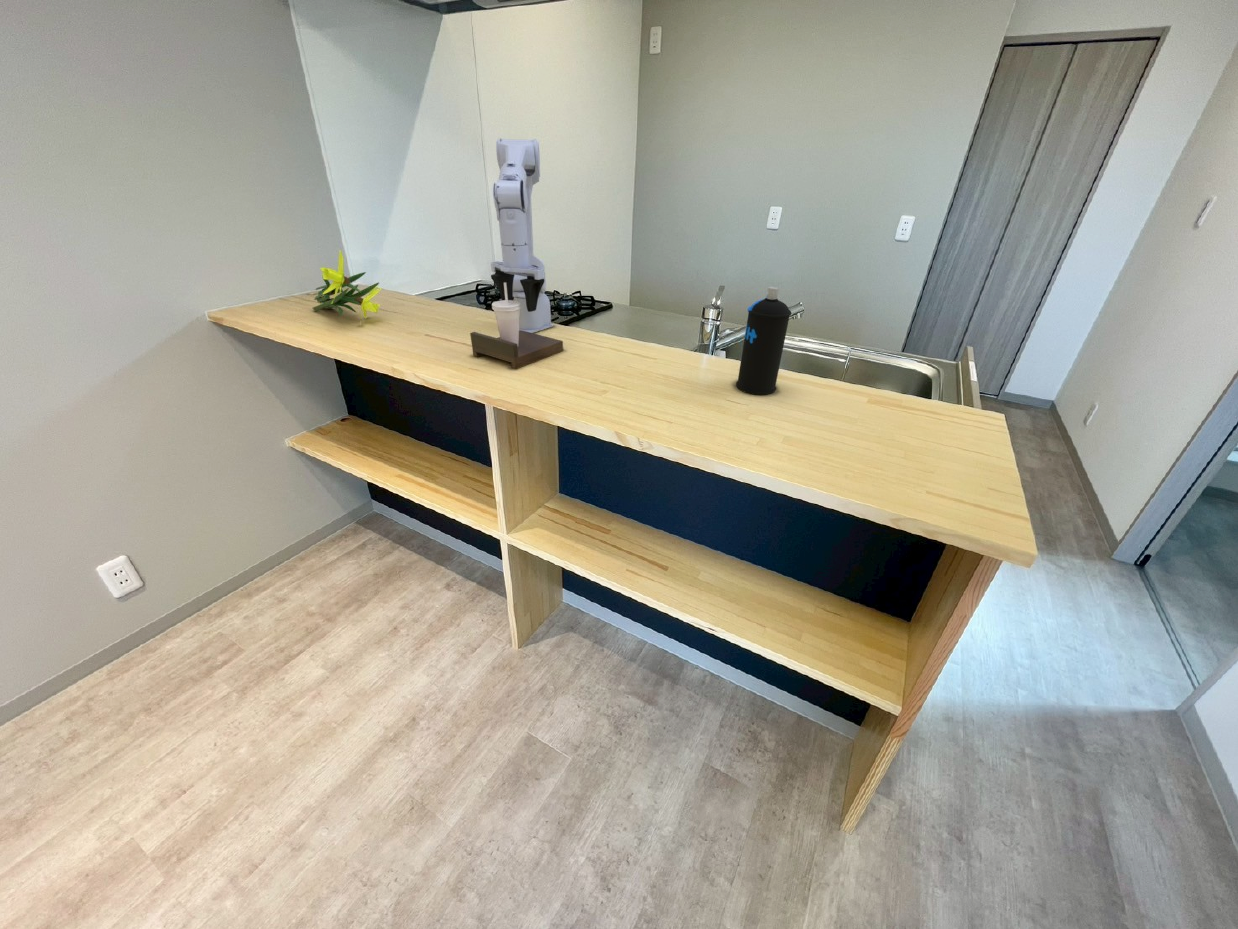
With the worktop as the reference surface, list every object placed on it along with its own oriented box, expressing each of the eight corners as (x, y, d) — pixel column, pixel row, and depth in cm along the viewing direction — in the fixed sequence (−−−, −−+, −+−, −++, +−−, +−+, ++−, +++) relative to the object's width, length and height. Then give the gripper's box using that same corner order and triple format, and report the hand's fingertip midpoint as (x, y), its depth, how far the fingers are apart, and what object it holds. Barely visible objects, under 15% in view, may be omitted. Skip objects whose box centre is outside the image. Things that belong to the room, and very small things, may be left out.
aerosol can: (777, 383, 105) (797, 285, 94) (774, 397, 98) (795, 294, 87) (738, 377, 107) (753, 281, 96) (733, 391, 100) (748, 290, 90)
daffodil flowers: (362, 305, 156) (407, 292, 132) (330, 338, 151) (372, 331, 127) (314, 260, 146) (354, 237, 121) (278, 294, 141) (313, 277, 116)
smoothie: (527, 342, 117) (522, 280, 110) (520, 350, 111) (514, 286, 104) (501, 340, 117) (494, 279, 110) (492, 349, 112) (485, 285, 105)
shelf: (522, 339, 126) (520, 318, 124) (563, 350, 120) (562, 328, 117) (473, 356, 115) (470, 332, 112) (515, 369, 109) (513, 345, 106)
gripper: (477, 242, 107) (485, 306, 114) (525, 249, 100) (530, 317, 107) (501, 239, 112) (507, 300, 119) (549, 246, 105) (552, 310, 112)
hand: (520, 308), depth 113 cm, fingers open, 7 cm apart
